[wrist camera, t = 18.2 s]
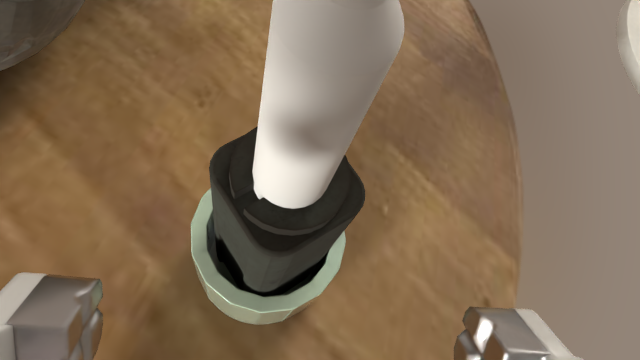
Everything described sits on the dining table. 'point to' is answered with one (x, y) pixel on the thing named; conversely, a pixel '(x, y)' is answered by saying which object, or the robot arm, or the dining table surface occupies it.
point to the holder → (245, 303)
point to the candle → (301, 141)
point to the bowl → (31, 26)
